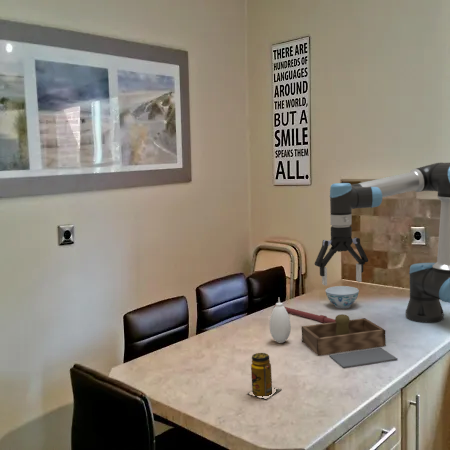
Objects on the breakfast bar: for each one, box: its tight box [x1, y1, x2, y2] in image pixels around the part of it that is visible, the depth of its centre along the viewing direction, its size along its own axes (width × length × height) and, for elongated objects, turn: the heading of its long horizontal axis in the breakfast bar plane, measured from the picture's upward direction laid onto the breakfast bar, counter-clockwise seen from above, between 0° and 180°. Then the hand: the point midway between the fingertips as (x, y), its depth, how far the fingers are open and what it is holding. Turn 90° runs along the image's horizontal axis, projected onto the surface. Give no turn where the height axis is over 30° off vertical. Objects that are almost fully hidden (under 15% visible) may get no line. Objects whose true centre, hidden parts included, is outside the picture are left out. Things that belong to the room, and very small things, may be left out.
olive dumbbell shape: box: [334, 313, 351, 336], centre depth 200 cm, size 6×6×11 cm
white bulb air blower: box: [269, 298, 292, 344], centre depth 205 cm, size 8×8×18 cm
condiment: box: [250, 352, 282, 397], centre depth 163 cm, size 7×8×12 cm
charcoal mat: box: [328, 347, 399, 369], centre depth 186 cm, size 20×11×1 cm, turn 103°
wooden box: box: [301, 317, 387, 356], centre depth 201 cm, size 26×15×6 cm, turn 103°
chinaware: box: [325, 285, 360, 309], centre depth 248 cm, size 15×15×8 cm
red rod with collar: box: [273, 304, 336, 324], centre depth 232 cm, size 45×3×3 cm, turn 40°
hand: (341, 283), depth 198 cm, fingers open, 13 cm apart
